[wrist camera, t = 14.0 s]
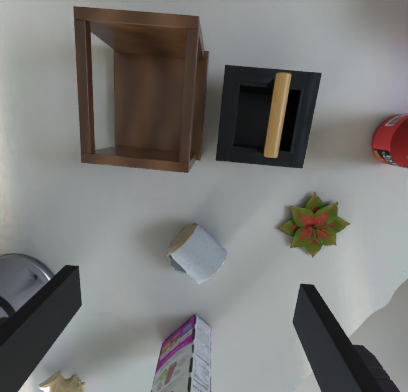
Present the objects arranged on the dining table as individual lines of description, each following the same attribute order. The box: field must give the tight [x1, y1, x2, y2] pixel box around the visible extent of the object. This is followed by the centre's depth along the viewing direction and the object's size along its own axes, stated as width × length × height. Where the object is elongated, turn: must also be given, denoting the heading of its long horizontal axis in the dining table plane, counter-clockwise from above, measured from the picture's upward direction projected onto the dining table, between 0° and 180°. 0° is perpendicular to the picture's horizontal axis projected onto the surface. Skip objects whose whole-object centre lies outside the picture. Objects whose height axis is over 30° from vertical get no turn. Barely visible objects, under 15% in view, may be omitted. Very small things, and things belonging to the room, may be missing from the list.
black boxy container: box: [216, 65, 322, 168], centre depth 33 cm, size 12×12×14 cm
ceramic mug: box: [167, 223, 227, 283], centre depth 43 cm, size 11×8×8 cm
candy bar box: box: [151, 315, 211, 392], centre depth 44 cm, size 11×5×16 cm, turn 137°
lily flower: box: [278, 192, 350, 257], centre depth 42 cm, size 12×12×5 cm
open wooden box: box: [74, 6, 209, 173], centre depth 34 cm, size 14×16×13 cm
